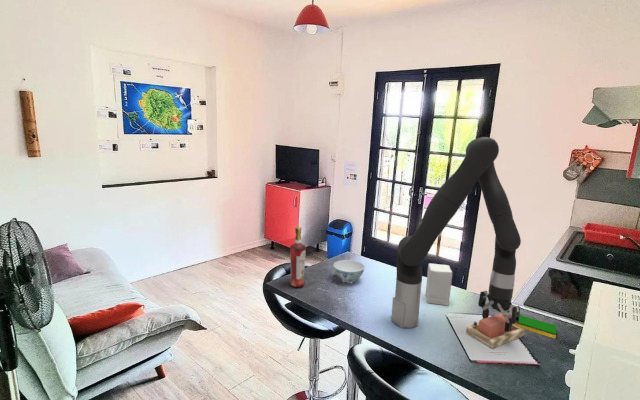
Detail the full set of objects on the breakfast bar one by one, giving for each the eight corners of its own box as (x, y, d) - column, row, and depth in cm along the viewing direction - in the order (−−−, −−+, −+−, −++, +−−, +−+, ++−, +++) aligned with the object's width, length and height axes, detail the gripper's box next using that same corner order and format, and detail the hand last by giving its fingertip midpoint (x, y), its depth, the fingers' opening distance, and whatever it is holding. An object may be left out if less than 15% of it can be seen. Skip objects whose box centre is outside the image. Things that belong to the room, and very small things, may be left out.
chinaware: (365, 287, 158) (366, 272, 157) (333, 286, 158) (333, 271, 157) (361, 274, 173) (362, 260, 172) (332, 273, 173) (333, 259, 172)
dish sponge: (555, 339, 122) (556, 333, 121) (511, 326, 130) (512, 320, 129) (556, 331, 127) (557, 325, 127) (514, 318, 135) (515, 313, 135)
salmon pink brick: (488, 339, 118) (490, 324, 117) (477, 332, 122) (479, 318, 121) (512, 330, 124) (514, 316, 123) (500, 324, 128) (502, 310, 127)
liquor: (296, 280, 164) (297, 224, 158) (308, 285, 159) (309, 227, 154) (286, 285, 158) (286, 227, 152) (298, 290, 153) (299, 230, 148)
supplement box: (449, 306, 143) (453, 272, 140) (427, 303, 145) (430, 270, 142) (446, 296, 152) (449, 264, 149) (425, 294, 154) (428, 262, 151)
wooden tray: (492, 348, 115) (493, 339, 114) (466, 332, 124) (467, 323, 123) (523, 336, 123) (524, 327, 122) (496, 321, 132) (498, 313, 131)
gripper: (477, 277, 124) (472, 318, 127) (514, 293, 112) (507, 338, 115) (490, 274, 127) (485, 313, 131) (528, 289, 115) (521, 333, 118)
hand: (495, 325), depth 123 cm, fingers open, 8 cm apart
